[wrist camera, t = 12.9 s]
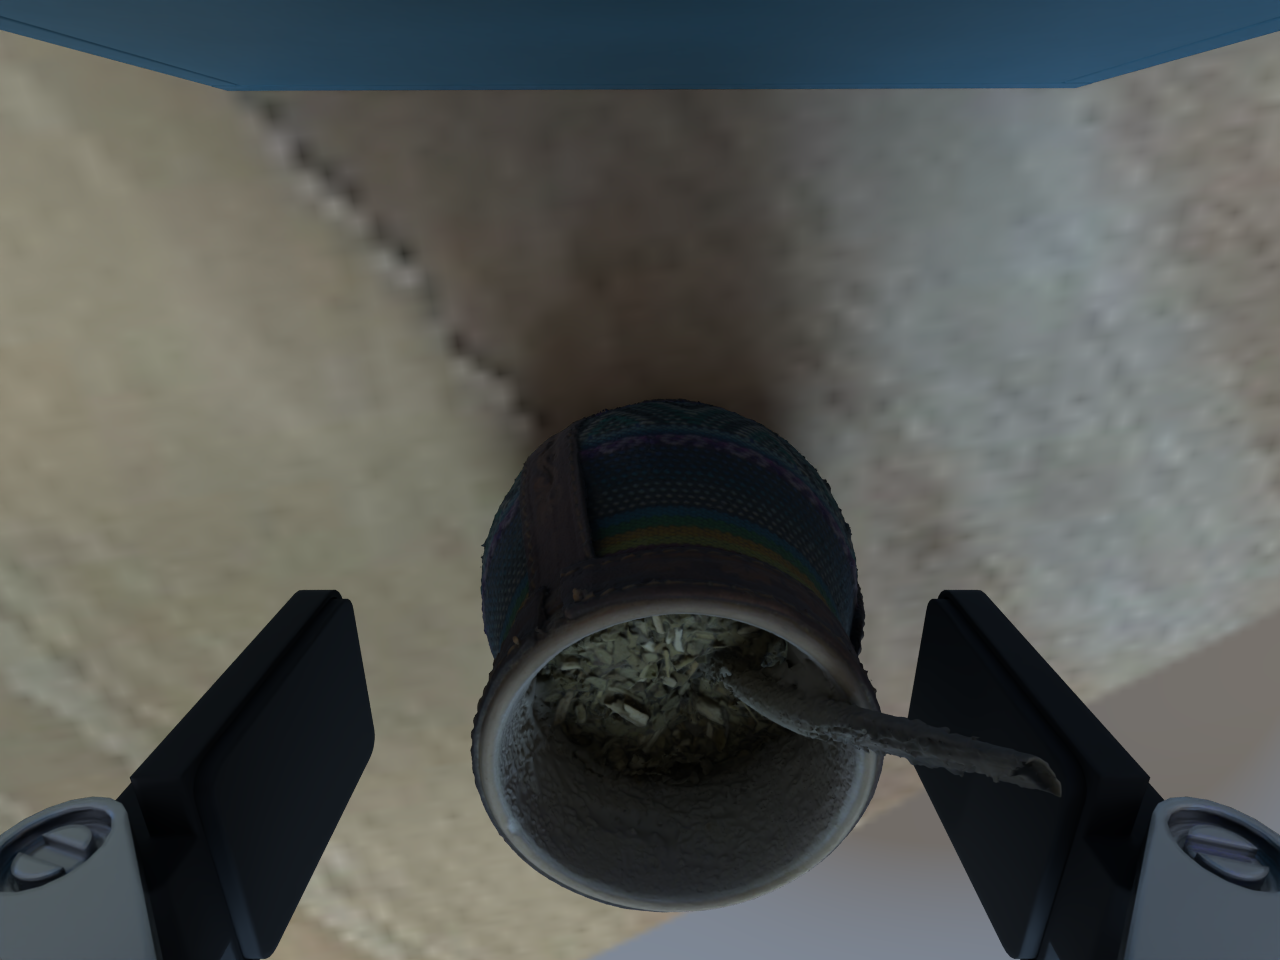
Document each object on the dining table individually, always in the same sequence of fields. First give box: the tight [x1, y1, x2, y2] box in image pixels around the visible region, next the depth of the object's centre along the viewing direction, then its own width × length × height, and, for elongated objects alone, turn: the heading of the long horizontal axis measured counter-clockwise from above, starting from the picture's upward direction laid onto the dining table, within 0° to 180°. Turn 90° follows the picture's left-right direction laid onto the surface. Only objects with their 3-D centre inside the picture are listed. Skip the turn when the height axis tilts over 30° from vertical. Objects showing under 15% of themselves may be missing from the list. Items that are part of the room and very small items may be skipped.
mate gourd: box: [471, 399, 1062, 912], centre depth 12 cm, size 7×8×10 cm
